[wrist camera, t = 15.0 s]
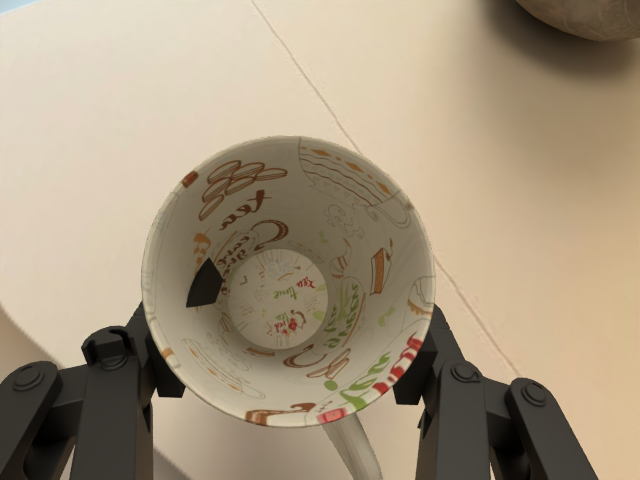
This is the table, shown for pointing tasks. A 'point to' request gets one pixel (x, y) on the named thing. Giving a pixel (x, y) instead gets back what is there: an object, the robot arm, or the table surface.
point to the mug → (291, 286)
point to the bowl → (589, 17)
